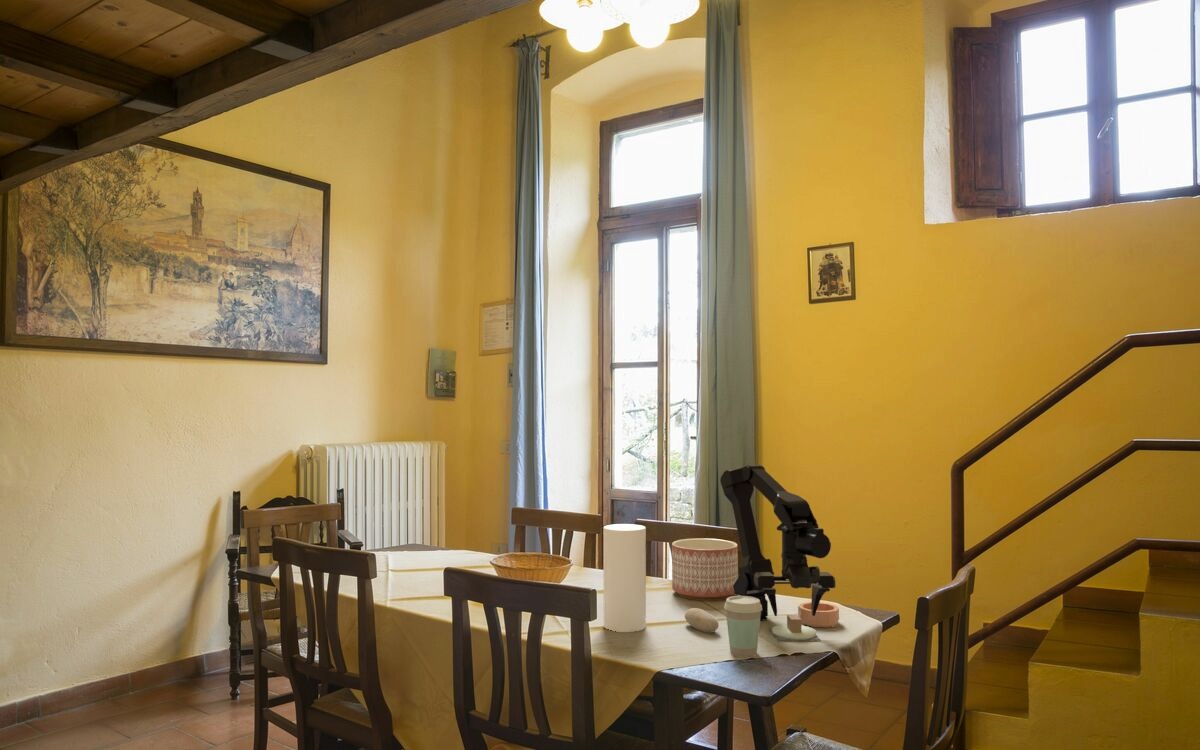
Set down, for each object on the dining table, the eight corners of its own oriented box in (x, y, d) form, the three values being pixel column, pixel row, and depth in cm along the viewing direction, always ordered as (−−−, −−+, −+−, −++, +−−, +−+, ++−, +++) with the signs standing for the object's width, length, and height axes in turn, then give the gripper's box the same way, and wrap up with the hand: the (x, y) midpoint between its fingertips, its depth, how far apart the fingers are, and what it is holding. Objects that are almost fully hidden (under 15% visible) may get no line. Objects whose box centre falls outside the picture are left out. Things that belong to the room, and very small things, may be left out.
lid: (777, 639, 193) (777, 622, 193) (768, 627, 203) (768, 611, 203) (821, 639, 193) (821, 622, 193) (809, 627, 203) (809, 611, 203)
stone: (697, 611, 210) (726, 607, 201) (694, 636, 208) (724, 633, 198) (679, 606, 208) (708, 602, 198) (676, 631, 205) (706, 628, 196)
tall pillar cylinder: (648, 631, 201) (648, 530, 201) (605, 632, 200) (605, 530, 201) (643, 620, 211) (642, 523, 212) (602, 621, 211) (602, 524, 211)
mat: (778, 641, 193) (778, 639, 193) (769, 629, 203) (769, 627, 203) (820, 641, 193) (820, 639, 193) (809, 629, 203) (809, 627, 203)
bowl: (804, 627, 204) (804, 611, 204) (794, 617, 214) (794, 602, 214) (843, 627, 204) (843, 611, 204) (832, 617, 214) (831, 602, 214)
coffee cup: (754, 646, 189) (754, 594, 189) (768, 658, 180) (768, 603, 181) (719, 648, 187) (719, 596, 188) (731, 660, 179) (731, 605, 179)
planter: (678, 585, 252) (678, 537, 252) (741, 589, 246) (740, 539, 247) (666, 599, 233) (666, 547, 234) (733, 604, 228) (733, 551, 228)
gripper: (762, 557, 190) (763, 624, 190) (842, 557, 191) (842, 624, 190) (753, 548, 202) (753, 612, 201) (828, 548, 202) (829, 612, 201)
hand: (794, 615), depth 198 cm, fingers open, 9 cm apart
